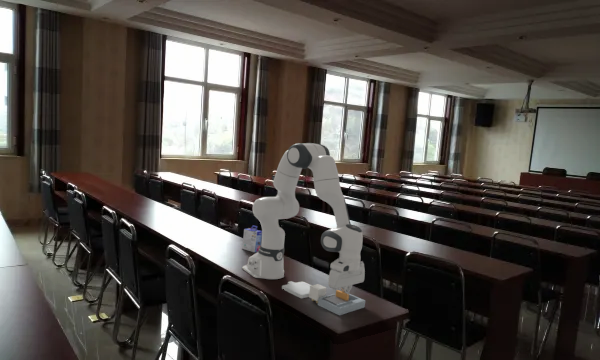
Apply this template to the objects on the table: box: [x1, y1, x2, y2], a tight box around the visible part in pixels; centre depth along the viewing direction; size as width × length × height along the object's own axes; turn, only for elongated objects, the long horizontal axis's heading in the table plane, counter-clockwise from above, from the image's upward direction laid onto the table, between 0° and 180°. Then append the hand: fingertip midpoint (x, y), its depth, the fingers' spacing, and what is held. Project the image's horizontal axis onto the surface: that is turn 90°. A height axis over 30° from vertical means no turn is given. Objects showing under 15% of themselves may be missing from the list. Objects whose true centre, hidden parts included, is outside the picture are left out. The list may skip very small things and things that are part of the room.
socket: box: [317, 293, 366, 316], centre depth 183 cm, size 12×16×4 cm
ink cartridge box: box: [241, 225, 262, 253], centre depth 254 cm, size 10×6×14 cm, turn 58°
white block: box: [308, 283, 327, 304], centre depth 185 cm, size 5×5×6 cm
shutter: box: [324, 289, 350, 305], centre depth 180 cm, size 7×8×3 cm
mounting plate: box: [281, 280, 312, 299], centre depth 196 cm, size 18×13×2 cm
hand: (345, 295), depth 184 cm, fingers closed
